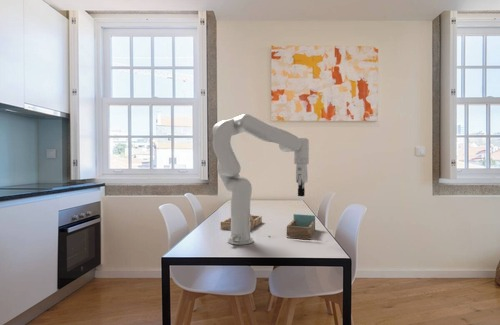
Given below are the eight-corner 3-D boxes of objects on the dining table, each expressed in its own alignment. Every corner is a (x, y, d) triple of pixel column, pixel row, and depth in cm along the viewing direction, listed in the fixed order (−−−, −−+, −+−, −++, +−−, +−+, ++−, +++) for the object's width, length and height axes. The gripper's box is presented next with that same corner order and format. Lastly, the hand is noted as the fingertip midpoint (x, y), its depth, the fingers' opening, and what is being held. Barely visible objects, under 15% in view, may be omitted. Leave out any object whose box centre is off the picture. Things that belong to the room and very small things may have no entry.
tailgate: (314, 230, 168) (314, 215, 168) (293, 228, 172) (293, 214, 172) (315, 229, 169) (315, 215, 169) (293, 227, 173) (293, 213, 173)
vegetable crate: (248, 231, 170) (248, 224, 170) (220, 228, 175) (220, 222, 175) (261, 222, 194) (261, 216, 194) (237, 220, 200) (237, 214, 200)
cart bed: (310, 240, 151) (310, 228, 151) (286, 238, 155) (286, 226, 155) (314, 232, 168) (314, 221, 168) (293, 230, 172) (293, 219, 172)
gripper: (306, 161, 152) (306, 198, 152) (310, 161, 166) (310, 194, 167) (291, 161, 155) (291, 197, 155) (297, 161, 169) (296, 194, 169)
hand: (301, 195), depth 161 cm, fingers closed
